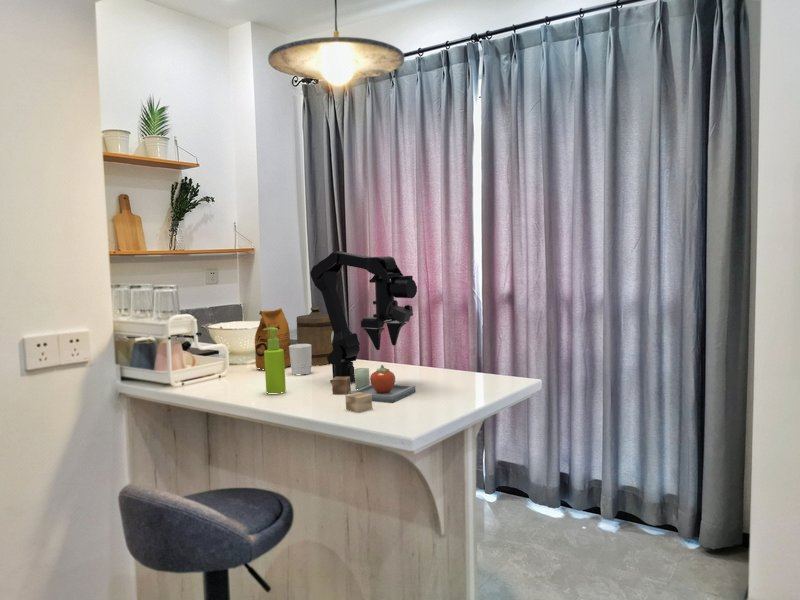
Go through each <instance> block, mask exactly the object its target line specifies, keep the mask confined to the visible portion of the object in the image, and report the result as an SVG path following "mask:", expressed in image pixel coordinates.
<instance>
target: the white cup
mask: <svg viewBox="0 0 800 600" xmlns="http://www.w3.org/2000/svg"><path fill="white" fill-rule="evenodd" d="M289 353H290V363H291V366H290V368H291V369H290V370H291V375H293V374H306V375H310V374H312V366H311V357H312V356H311V344H297V343H295V344H291V345H290V346H289ZM309 373H310V374H309Z"/></svg>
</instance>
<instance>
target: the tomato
mask: <svg viewBox="0 0 800 600" xmlns="http://www.w3.org/2000/svg"><path fill="white" fill-rule="evenodd" d="M369 381H370V385H372V387H373V389H374V390H375V391H376V392H377V393H388V392H390V391H391V390H392V388H393V386H394V384H395V383H396V375H395V373H394V372H393V371H390V369H389V368H387V367H385V365H383V364H381V365H380V368H377V369H376V371H374V372H373V373H372V374H371V375H370V376H369Z"/></svg>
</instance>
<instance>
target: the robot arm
mask: <svg viewBox="0 0 800 600" xmlns="http://www.w3.org/2000/svg"><path fill="white" fill-rule="evenodd" d="M343 266H348V267H353V268H358V269H363V270H366V271H367V272H368V273H369V274H372V275H373V276H372V277H371V279H369V282H368V283H372V284H375V286H374V288H375V289H374V290H375V300H373V301H372V305H375V313H374V314H372V315H373V316H368V317H363V318H362V319H361V320H360V328H362V329H363V331H365V332H366V333H367V335H368V337H369V338H370V341H371V342H372V344H373V346H374V348H375V350H376V351H380V350H381V340H382V339H381V338H382V332H384V331H385V327H384V326H385V324H386V327H387V330H388V335H389V338H390V342H391V344H392V346H396V345H397V342H398V338H399V335H400V331H401V329H402V328H404V327H403V326H405V325H407V323H408V322H409V323H410V320H411V317H413V316H414V313H413V312H414V310H413V305H410V304H406V305H404V306H400V305H399V303H398V300H397V299H413V298H415V297H416V295H417V292H418V286H417V284H416V281H415V280H414V279H413V278H414V276H413V275H404V274H403V273H402V271H401V269H400V268H399V267H398V265H397V262H396V260H395V257H392V256H367V255H362V254H355V253H349V252H345V251H338V250H337V251H333V252H331V253H330V254H329V255H328V256H327V257H325V258H324V259H322V260H320V261H319V262H318V263H317V264H315V265H313V267H312V268H311V270H310V272H309V273H310V274H309V275H310V278H311V280H312V282H313V284H314V286H315V287H316V289H318V290H319V291H320V293H321V295H322V298H323V302H324V305H325V309H326V312H327V314H328V316H329V319H330V322H331V326H332V329H333V332H334V336H333V341H332V346H333V351H332V352H331V353H330V355H329V356H328V357H327V360H328V363H329V364H328V365H332V366H331V369H332V371H331V372H332V379H333V378H335V377H350V383H351V382H353V381H355V366H354V362H356V361H357V357H358V355H359V353H360V351H361V350H360V348H361V347H360V345H361V343H360V341H359V339H358V337H359V336H358V334H357V333H356V332H354V333H353V332H351V331H350V330H349V328H348V324H347V321H346V317H345V314H344V313H345V312H344V311H343V307H342V304H341V299H340V296H339V294H338V291H337V285H338V281H339V279H338V274H339V273H340V272H341V271H342V268H343ZM396 298H397V299H396ZM332 379H330V380H329V382H331V383H332Z"/></svg>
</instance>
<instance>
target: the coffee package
mask: <svg viewBox="0 0 800 600" xmlns="http://www.w3.org/2000/svg"><path fill="white" fill-rule="evenodd" d="M259 316H261V318H260V321H259V324H258V327H257V328H256V332H255V334H254V335H255V336H254V350H255V351H254V352H255V357H254V358H255V367H256V369H257V368H260V369H264V370H263V371H265V359H264V351H265V350H268V339H269V338H270V330H263V329H264V328H270V327H274V328H278V330H277V331H276V338H278V339H279V349H283V350H284V366H285V367H286V368H288V367H287V366H289V367H291V363H290V353H289V346H290V345H292V344H291V335H290V333H291V332H290V327H289V323H288V320H287V318H286V316H285V313H284V311H283V309H282V308H277V309H275V310H259Z"/></svg>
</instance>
